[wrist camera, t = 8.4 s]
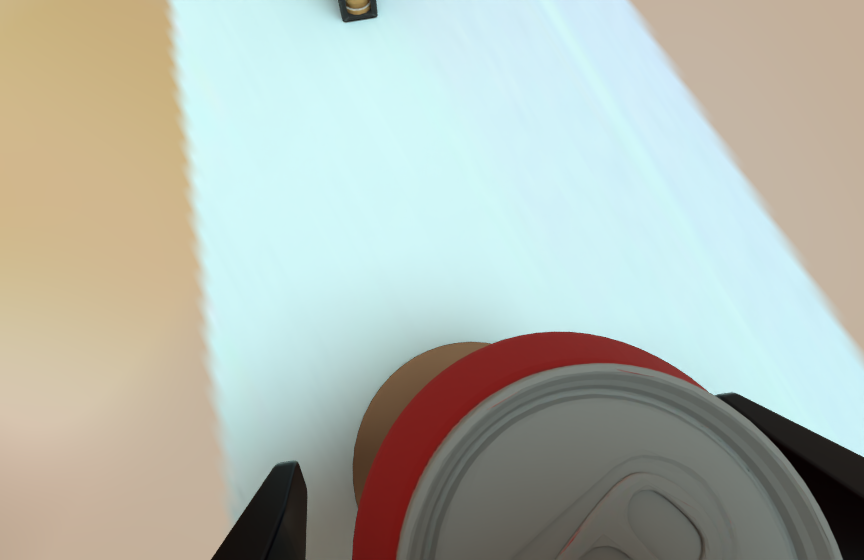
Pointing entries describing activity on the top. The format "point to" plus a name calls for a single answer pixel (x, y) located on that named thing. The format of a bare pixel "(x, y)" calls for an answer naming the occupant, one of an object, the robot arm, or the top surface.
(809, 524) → the beverage can
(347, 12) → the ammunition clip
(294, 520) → the robot arm
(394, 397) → the coaster
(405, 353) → the top surface
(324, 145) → the top surface
